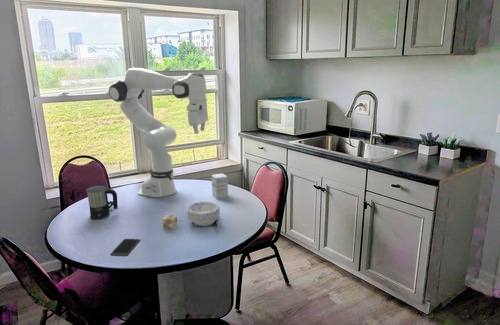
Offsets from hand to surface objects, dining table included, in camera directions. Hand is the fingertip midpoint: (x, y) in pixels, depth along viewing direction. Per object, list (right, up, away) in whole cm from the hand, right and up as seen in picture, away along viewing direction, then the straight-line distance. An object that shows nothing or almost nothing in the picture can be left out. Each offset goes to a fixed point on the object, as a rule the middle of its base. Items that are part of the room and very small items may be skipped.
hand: (199, 132), depth 184 cm
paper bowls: (+4, -45, -14) cm, 47 cm away
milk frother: (-50, -42, -1) cm, 66 cm away
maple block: (-11, -46, -19) cm, 51 cm away
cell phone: (-25, -52, -37) cm, 69 cm away
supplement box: (+9, -36, +21) cm, 42 cm away
